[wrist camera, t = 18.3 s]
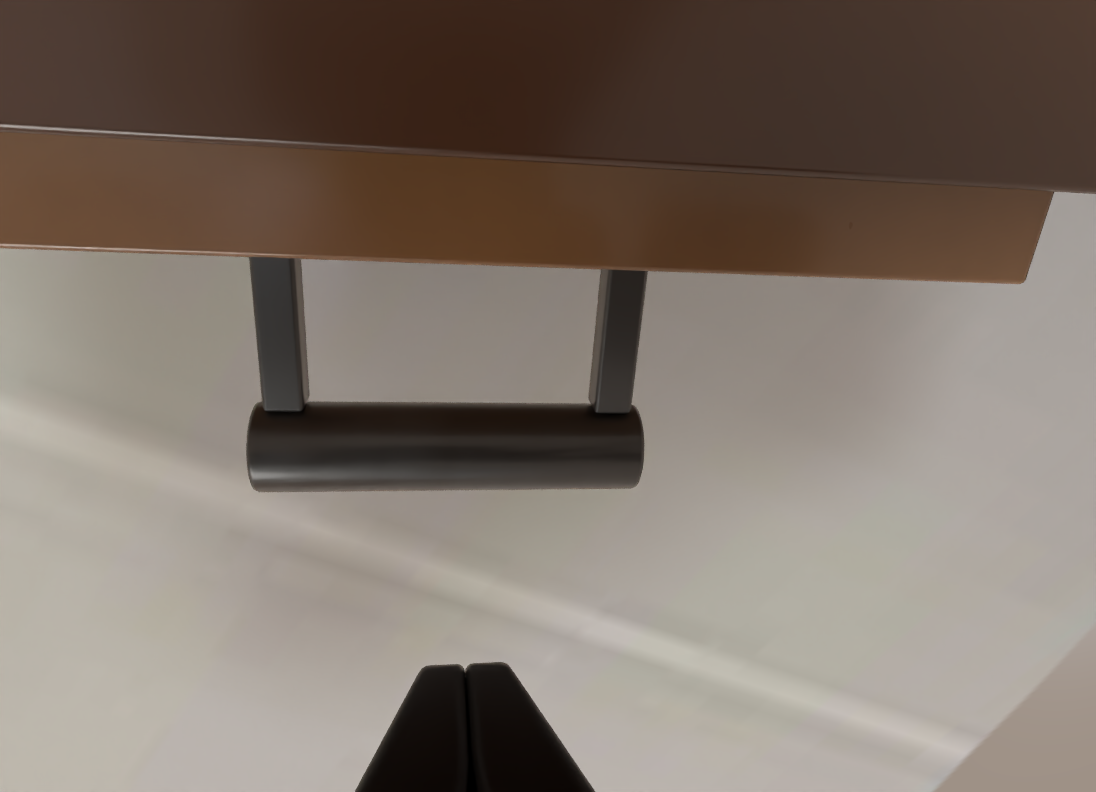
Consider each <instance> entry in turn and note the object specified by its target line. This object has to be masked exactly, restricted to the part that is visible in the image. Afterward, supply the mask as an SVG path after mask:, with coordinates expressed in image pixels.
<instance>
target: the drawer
mask: <svg viewBox="0 0 1096 792" xmlns="http://www.w3.org/2000/svg"><path fill="white" fill-rule="evenodd" d="M1053 194H1054V191H1036V190H1018V189H1001V188H983V187H965V186H948V185H930V184H912V183H895V182H877V181H860V180H842V179H824V178H807V177H789V176H771V175H754V174H736V173H718V172H701V171H683V170H665V169H648V168H630V167H612V166H595V165H577V164H560V163H542V162H524V161H507V160H489V159H471V158H454V157H436V156H418V155H401V154H383V153H365V152H348V151H330V150H312V149H295V148H277V147H260V146H242V145H224V144H207V143H189V142H171V141H154V140H136V139H118V138H101V137H83V136H65V135H48V134H30V133H12V132H0V248H8V249H36V250H64V251H93V252H121V253H150V254H178V255H206V256H235V257H249V261H250V272H251V283H252V294H253V305H254V316H255V328H256V339H257V350H258V361H259V372H260V383H261V394H262V401H261V402H259V403H257V404H256V405H255V406H254V408H253V410H252V413H251V416H250V420H249V425H248V431H247V443H246V458H247V470H248V475H249V479H250V482H251V485H252V487H253V489H254V490H256V491H258V492H327V491H426V490H526V489H625V488H633V487H635V486H636V485H637V484H638V482H639V480H640V477H641V473H642V469H643V462H644V432H643V425H642V421H641V417H640V414H639V411H638V409H637V408H636V407H635V406H634V405H631V403H632V395H633V387H634V379H635V371H636V362H637V354H638V346H639V338H640V330H641V322H642V313H643V305H644V297H645V289H646V281H647V272H648V271H660V272H688V273H717V274H745V275H773V276H802V277H830V278H858V279H887V280H915V281H944V282H972V283H1000V284H1021V283H1023V282H1024V281H1025V280H1026V277H1027V274H1028V271H1029V267H1030V264H1031V261H1032V258H1033V255H1034V252H1035V249H1036V246H1037V243H1038V240H1039V237H1040V234H1041V231H1042V228H1043V225H1044V221H1045V218H1046V215H1047V212H1048V209H1049V206H1050V203H1051V200H1052V197H1053ZM301 259H320V260H348V261H376V262H405V263H433V264H461V265H490V266H518V267H547V268H575V269H601V274H600V285H599V295H598V305H597V316H596V326H595V336H594V346H593V357H592V367H591V377H590V388H589V400H590V403H591V404H574V403H441V402H308V401H307V400H308V398H309V380H308V364H307V348H306V332H305V316H304V300H303V284H302V268H301Z"/></svg>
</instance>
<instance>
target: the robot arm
mask: <svg viewBox="0 0 1096 792" xmlns="http://www.w3.org/2000/svg"><path fill="white" fill-rule="evenodd" d="M355 792H595V791H594V789H593V788H592V786H591V785H590V783H589V782H588V780H587V779H586V777H585V776H584V775H583V773H582V772H581V770H580V769H579V767H578V766H577V764H576V763H575V761H574V760H573V758H572V757H571V756H570V754H569V753H568V751H567V750H566V748H565V747H564V745H563V744H562V742H561V741H560V739H559V738H558V736H557V735H556V734H555V732H554V731H553V729H552V728H551V726H550V725H549V723H548V722H547V720H546V719H545V717H544V716H543V714H542V713H541V712H540V710H539V709H538V707H537V706H536V704H535V703H534V701H533V700H532V698H531V697H530V695H529V694H528V692H527V691H526V690H525V688H524V687H523V685H522V684H521V682H520V681H519V679H518V678H517V676H516V675H515V673H514V672H513V671H512V669H511V668H510V667H509V665H507V664H506V663H503V662H493V663H473V664H470V665H468V666H467V668H466V670H465V671H464V668H463V667H462V666H461V665H459V664H450V665H430V666H425V667H424V668H422V669H421V671H420V672H419V673H418V675H417V677H416V679H415V681H414V682H413V684H412V686H411V688H410V690H409V692H408V694H407V695H406V697H405V699H404V701H403V703H402V705H401V707H400V708H399V710H398V712H397V714H396V716H395V718H394V720H393V721H392V723H391V725H390V727H389V729H388V731H387V733H386V735H385V736H384V738H383V740H382V742H381V744H380V746H379V748H378V749H377V751H376V753H375V755H374V757H373V759H372V761H371V762H370V764H369V766H368V768H367V770H366V772H365V774H364V775H363V777H362V779H361V781H360V783H359V785H358V787H357V788H356V790H355Z"/></svg>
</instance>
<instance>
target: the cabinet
mask: <svg viewBox="0 0 1096 792" xmlns="http://www.w3.org/2000/svg"><path fill="white" fill-rule="evenodd" d="M0 132H12V133H30V134H48V135H65V136H83V137H101V138H118V139H136V140H154V141H171V142H189V143H207V144H224V145H242V146H260V147H277V148H295V149H312V150H330V151H348V152H365V153H383V154H401V155H418V156H436V157H454V158H471V159H489V160H507V161H524V162H542V163H560V164H577V165H595V166H612V167H630V168H648V169H665V170H683V171H701V172H718V173H736V174H754V175H771V176H789V177H807V178H824V179H842V180H860V181H877V182H895V183H912V184H930V185H948V186H965V187H983V188H1001V189H1018V190H1036V191H1054V192H1071V193H1089V194H1096V0H0Z"/></svg>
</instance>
